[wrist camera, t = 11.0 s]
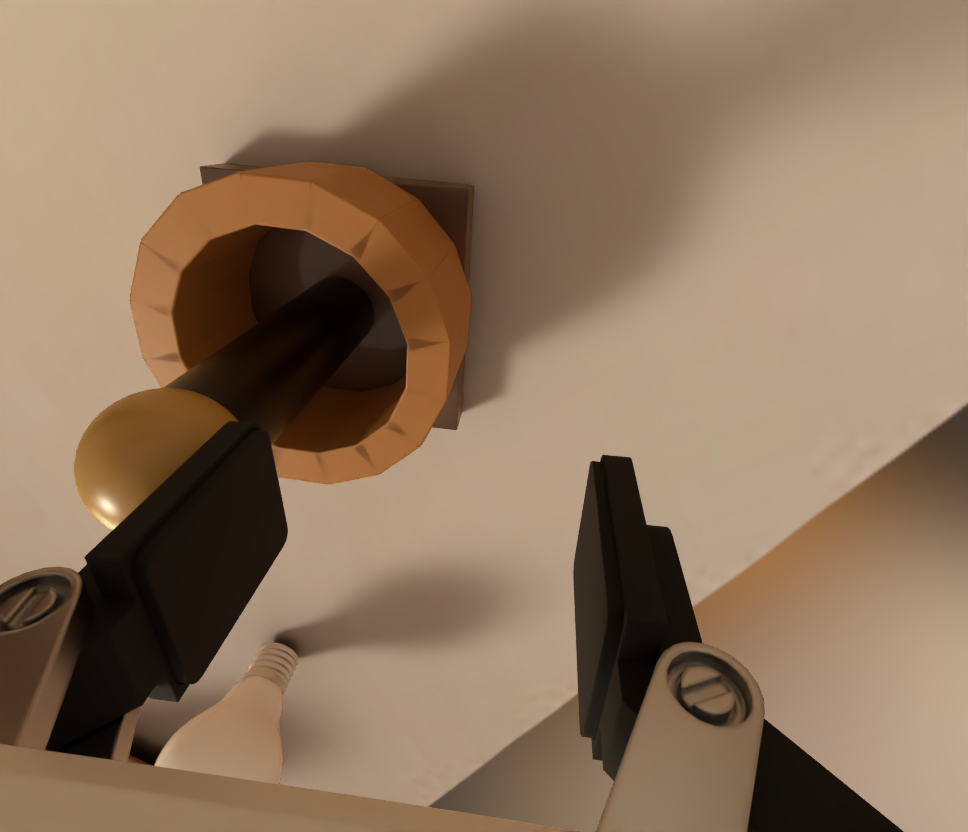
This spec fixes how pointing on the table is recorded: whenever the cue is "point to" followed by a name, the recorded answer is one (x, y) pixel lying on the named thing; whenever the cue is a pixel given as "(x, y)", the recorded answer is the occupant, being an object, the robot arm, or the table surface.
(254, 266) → the hook base
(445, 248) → the tape roll
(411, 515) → the table surface
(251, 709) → the lightbulb
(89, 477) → the hook peg
